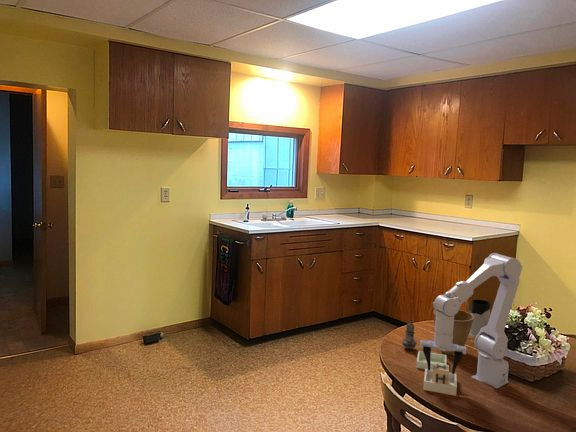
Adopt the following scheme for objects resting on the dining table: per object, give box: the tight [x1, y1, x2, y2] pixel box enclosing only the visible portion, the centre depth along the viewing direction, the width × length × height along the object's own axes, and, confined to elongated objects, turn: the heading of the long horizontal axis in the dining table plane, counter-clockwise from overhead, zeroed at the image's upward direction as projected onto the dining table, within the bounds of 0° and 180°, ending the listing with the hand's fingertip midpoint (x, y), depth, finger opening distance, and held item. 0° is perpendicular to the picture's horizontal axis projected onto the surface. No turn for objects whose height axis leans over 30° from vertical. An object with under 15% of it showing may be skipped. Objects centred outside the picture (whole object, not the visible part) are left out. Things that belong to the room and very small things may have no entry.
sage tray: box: [415, 350, 448, 370], centre depth 171 cm, size 10×10×3 cm
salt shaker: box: [401, 320, 418, 351], centre depth 185 cm, size 6×6×12 cm
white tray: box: [423, 369, 458, 397], centre depth 156 cm, size 10×10×3 cm
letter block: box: [432, 363, 450, 384], centre depth 156 cm, size 5×5×6 cm
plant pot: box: [433, 309, 474, 356], centre depth 183 cm, size 15×15×16 cm
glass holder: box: [459, 299, 491, 339], centre depth 206 cm, size 9×14×15 cm, turn 42°
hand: (441, 370), depth 156 cm, fingers open, 7 cm apart
